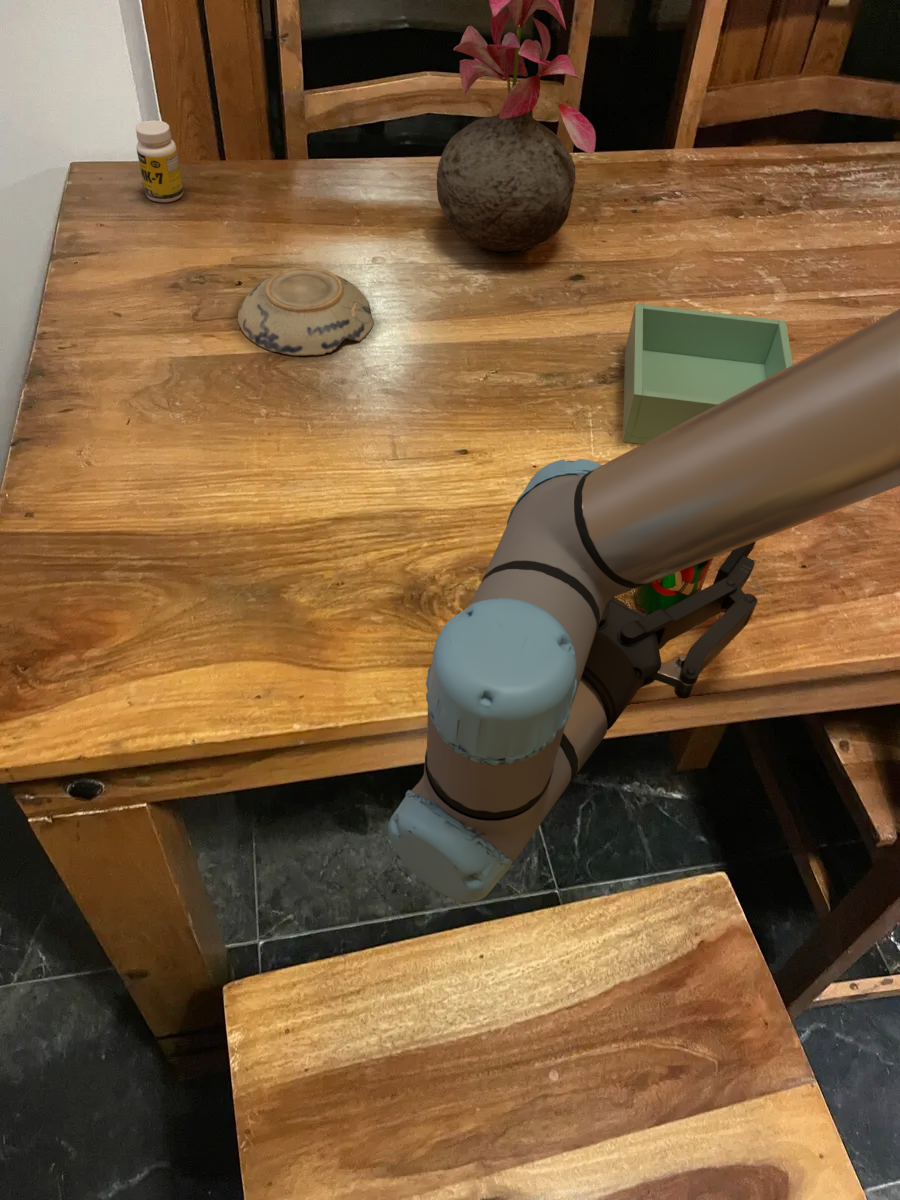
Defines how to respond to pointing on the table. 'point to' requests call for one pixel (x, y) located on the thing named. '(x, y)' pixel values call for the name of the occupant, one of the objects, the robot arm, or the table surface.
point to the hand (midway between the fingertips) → (708, 513)
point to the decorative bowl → (304, 312)
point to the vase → (511, 143)
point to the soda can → (672, 588)
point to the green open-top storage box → (693, 364)
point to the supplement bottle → (158, 161)
